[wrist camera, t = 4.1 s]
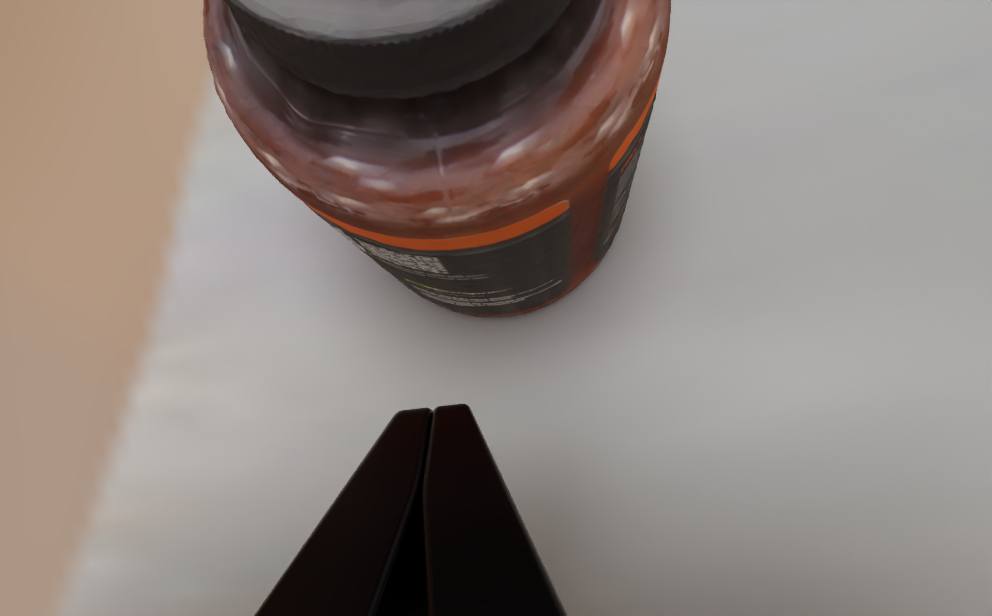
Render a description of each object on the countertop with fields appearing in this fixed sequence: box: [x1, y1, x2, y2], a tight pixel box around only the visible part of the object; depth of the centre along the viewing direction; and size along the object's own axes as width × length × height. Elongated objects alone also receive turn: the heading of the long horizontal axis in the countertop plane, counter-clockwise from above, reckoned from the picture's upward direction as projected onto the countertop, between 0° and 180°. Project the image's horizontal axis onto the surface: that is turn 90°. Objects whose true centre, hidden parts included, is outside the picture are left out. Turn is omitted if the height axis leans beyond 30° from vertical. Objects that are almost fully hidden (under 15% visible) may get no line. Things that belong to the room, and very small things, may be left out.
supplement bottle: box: [203, 0, 671, 316], centre depth 12 cm, size 6×6×11 cm
